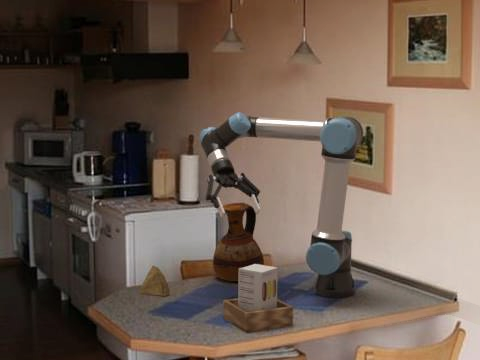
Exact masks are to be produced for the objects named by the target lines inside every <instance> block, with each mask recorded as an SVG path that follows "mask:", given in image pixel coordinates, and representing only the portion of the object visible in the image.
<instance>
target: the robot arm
mask: <svg viewBox="0 0 480 360" xmlns="http://www.w3.org/2000/svg"><path fill="white" fill-rule="evenodd" d="M199 133H200V134H199V136H198V137H199V142H200V146H201V148H202V150H203V152H204V155H205V157H206V159H207V162H208V165H209V167H210V169H211V172H212V174H209V176H208V178H207V180H206V181H207V189H206V195H205V200H206V201H209V202H210V203H211V204H212V205H213V206H214V209H217V212H218V214H219V217H220V218H223V217H224V216H225V214H226V213H225V211H224V208H223V204H222V202H221V198H220V196H218V194H219V193H220V191H221V189H222V187H223V188H225V189H227V188H233V189H237V190H239V191H241V192H242V193H243V194H245V195H246V196H248V197H250V198H249V201H250V203H251V206H252V207H253V208H254V210H255V213H256V215H258V214H259V213H260V211H261V207H260V204H259V203H260V201H259V198H258V197H259V194H260V193H261V189H259V188H258V187H257V186H256V185H255V184H254V183H253V182H251V181H250V179H248V177H247V176H246V175H245V173H244V172H241V173H240V174H237V173H236V172H235V168H234V166H233V164H232V161H231V159H230V158H231V157H230V155H229V154H228V151H227V149H226V148H227V147H228V146H230V145H231V144H233V143H234V142H235V141H237V139H242V138H262V139H275V140H276V139H279V140H280V139H281V140H291V141H294V140H295V141H307V142H308V141H309V142H320V143H321V145H322V146H321V158H322V159H323V160H324V165H323V174H322V181H321V182H322V184H321V190H320V201H319V207H318V218H317V225H316V229H315V230H313V231H312V232H311V238H310V246H309V247H308V248H307V251H306V253H305V261H306V264H307V266H308V267H309V269H310V270H311V271H312V272H314V273H316V274H317V275H316V279H315V281H314V285H313V293H314V294H315V293H316V295H317V294H318V296H320V295H321V297H325V296H326V298H348V297H352V296H354V295H356V285H355V282H354V277H353V274H352V243H353V237H352V233H351V232H350V231H348V230H343V223H344V215H345V207H346V200H347V199H346V198H347V190H348V184H349V183H348V182H349V174H350V168H351V167H350V165H351V164H352V163H353V162H354V161H355V160H356V155H357V147H358V146H359V145H360V144H361V143H362V141H363V138H364V128H363V126H362V124H361V123H360V122H359V120H357V119H356V118H353V117H351V116H342V117H327V118H326V119H325V120H320V119H302V118H300V119H299V118H297V119H296V118H279V117H262V116H260V117H258V116H251V115H246V114H244V113H243V112H239V111H238V112H236V113H234V114H233V115H231V116H230V117H229V118H228V119H227V120H225V121H224V122H223V123H222V124H221V125H219V126H218V127H215V126H214V127H213V126H209V127H207V128H203V130H202V131H200V132H199ZM214 183H217V184H218V185H217V188H215V191H214V193H213V194H212V192H213V187H214Z"/></svg>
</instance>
